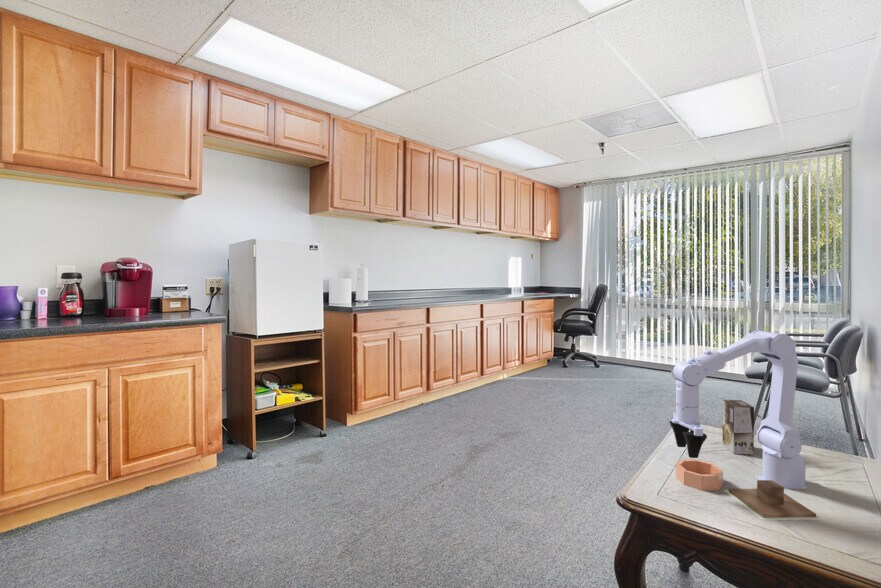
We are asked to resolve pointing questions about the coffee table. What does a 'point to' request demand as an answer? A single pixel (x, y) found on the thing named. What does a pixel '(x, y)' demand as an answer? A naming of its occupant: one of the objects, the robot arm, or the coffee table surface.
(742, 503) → the mat
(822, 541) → the coffee table surface
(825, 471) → the coffee table surface
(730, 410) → the coffee box
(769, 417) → the robot arm
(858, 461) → the coffee table surface
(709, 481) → the bowl
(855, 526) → the coffee table surface
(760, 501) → the lid
